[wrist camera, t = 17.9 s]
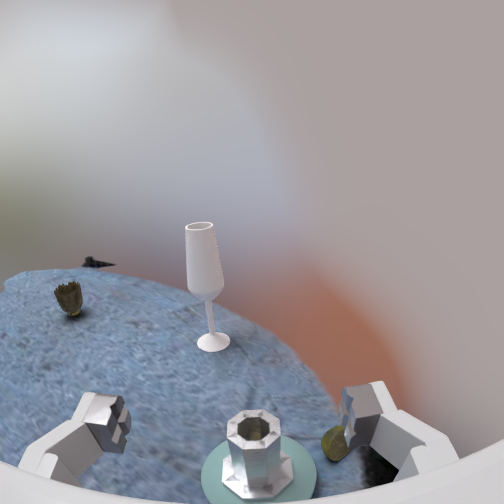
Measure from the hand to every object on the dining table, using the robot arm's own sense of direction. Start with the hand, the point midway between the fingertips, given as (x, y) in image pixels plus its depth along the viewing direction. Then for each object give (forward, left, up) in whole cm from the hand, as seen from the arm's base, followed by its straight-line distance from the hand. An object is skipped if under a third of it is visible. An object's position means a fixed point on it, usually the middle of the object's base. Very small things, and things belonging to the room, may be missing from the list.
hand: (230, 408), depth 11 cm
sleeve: (+9, +8, -27) cm, 30 cm away
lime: (+19, +3, -30) cm, 36 cm away
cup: (+9, +71, -30) cm, 78 cm away
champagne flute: (+27, +36, -30) cm, 55 cm away
